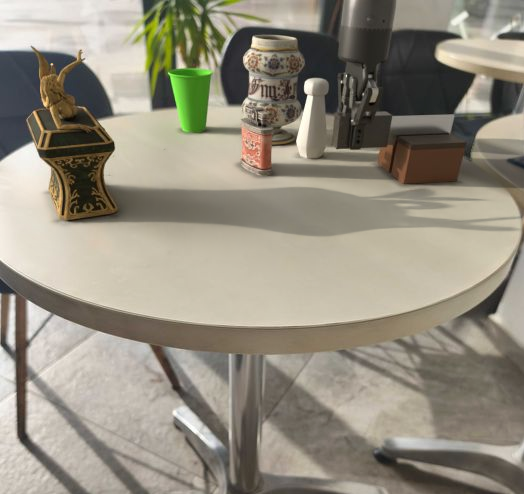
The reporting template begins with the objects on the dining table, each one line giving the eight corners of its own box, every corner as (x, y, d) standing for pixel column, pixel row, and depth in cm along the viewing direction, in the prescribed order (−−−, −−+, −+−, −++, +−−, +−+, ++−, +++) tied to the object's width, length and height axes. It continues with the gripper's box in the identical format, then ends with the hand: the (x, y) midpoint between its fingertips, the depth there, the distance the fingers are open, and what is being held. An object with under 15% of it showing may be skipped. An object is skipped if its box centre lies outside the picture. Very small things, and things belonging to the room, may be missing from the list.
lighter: (276, 173, 86) (278, 111, 80) (259, 176, 84) (260, 113, 78) (252, 160, 91) (253, 101, 85) (236, 163, 90) (236, 103, 84)
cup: (189, 137, 102) (185, 77, 95) (164, 128, 107) (159, 70, 100) (223, 130, 107) (221, 73, 100) (198, 121, 112) (195, 66, 105)
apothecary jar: (311, 140, 103) (320, 38, 92) (269, 150, 96) (272, 42, 85) (272, 127, 110) (275, 31, 98) (229, 136, 103) (228, 35, 92)
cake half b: (426, 160, 94) (434, 124, 90) (439, 169, 90) (448, 132, 86) (377, 163, 92) (383, 126, 88) (388, 172, 88) (395, 134, 84)
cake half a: (442, 171, 89) (451, 134, 85) (456, 181, 85) (467, 142, 81) (390, 174, 87) (398, 136, 83) (403, 184, 83) (411, 144, 79)
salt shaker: (290, 152, 96) (294, 77, 88) (315, 149, 98) (321, 75, 90) (305, 161, 92) (311, 83, 83) (331, 157, 94) (339, 81, 86)
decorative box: (128, 217, 70) (104, 57, 58) (57, 228, 67) (15, 60, 54) (100, 172, 84) (76, 36, 72) (40, 180, 81) (4, 38, 68)
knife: (443, 140, 87) (451, 109, 84) (451, 144, 85) (459, 113, 82) (331, 144, 83) (334, 112, 80) (336, 149, 81) (340, 116, 78)
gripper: (412, 28, 68) (388, 158, 78) (372, 19, 78) (356, 134, 89) (360, 28, 66) (344, 160, 77) (327, 18, 77) (316, 135, 88)
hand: (350, 145), depth 83 cm, fingers closed on knife, 2 cm apart
